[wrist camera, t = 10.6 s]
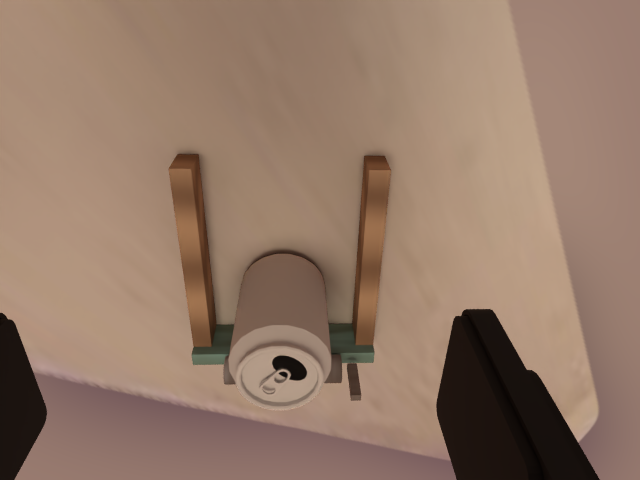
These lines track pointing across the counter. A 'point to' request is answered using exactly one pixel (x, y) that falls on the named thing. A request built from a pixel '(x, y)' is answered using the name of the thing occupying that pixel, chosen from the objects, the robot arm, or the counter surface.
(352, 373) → the bay
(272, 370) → the can
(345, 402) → the counter surface
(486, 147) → the counter surface
